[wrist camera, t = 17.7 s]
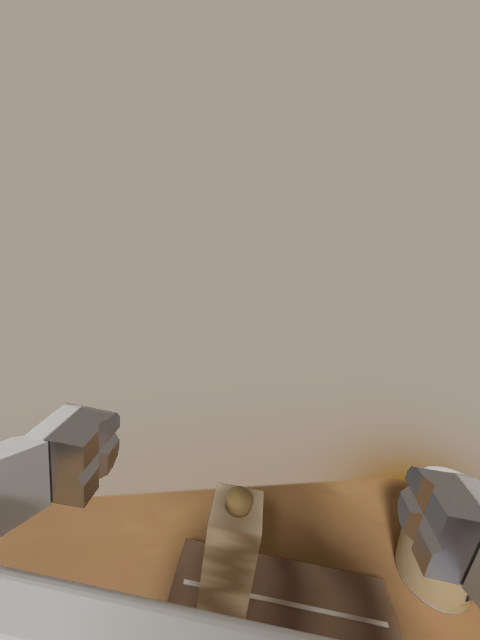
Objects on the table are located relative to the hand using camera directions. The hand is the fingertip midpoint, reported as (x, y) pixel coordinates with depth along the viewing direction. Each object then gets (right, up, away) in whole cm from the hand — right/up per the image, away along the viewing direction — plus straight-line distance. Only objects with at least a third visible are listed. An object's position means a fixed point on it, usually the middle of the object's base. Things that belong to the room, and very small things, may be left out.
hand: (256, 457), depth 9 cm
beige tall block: (-2, -23, +20) cm, 30 cm away
